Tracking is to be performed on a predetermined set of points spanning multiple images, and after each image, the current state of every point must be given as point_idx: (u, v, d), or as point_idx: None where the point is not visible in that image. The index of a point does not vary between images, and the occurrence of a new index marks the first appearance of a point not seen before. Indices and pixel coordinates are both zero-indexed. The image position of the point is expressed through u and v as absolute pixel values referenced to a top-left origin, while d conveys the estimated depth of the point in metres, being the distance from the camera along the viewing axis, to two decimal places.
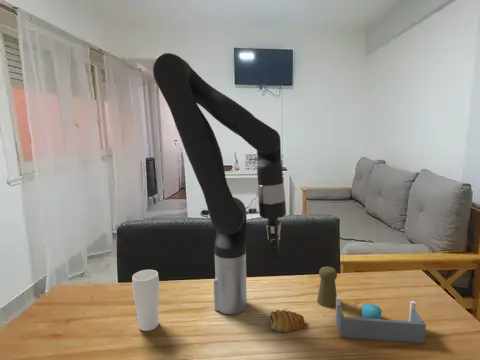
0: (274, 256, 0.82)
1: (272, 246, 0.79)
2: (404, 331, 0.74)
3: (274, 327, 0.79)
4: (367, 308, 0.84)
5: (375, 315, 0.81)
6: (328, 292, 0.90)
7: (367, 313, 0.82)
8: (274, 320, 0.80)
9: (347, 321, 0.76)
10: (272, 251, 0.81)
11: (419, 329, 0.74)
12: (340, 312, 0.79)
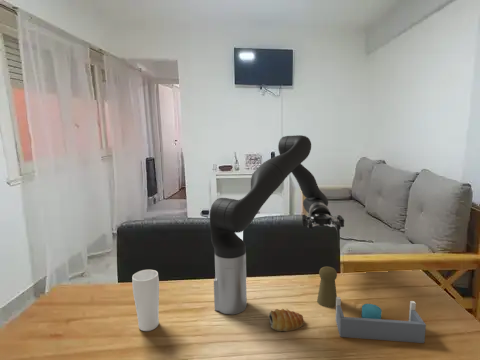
0: None
1: None
2: (404, 331, 0.74)
3: (274, 326, 0.79)
4: (367, 308, 0.84)
5: (375, 315, 0.81)
6: (328, 292, 0.90)
7: (367, 313, 0.82)
8: (273, 319, 0.80)
9: (347, 321, 0.76)
10: (339, 223, 1.02)
11: (419, 329, 0.74)
12: (340, 312, 0.79)
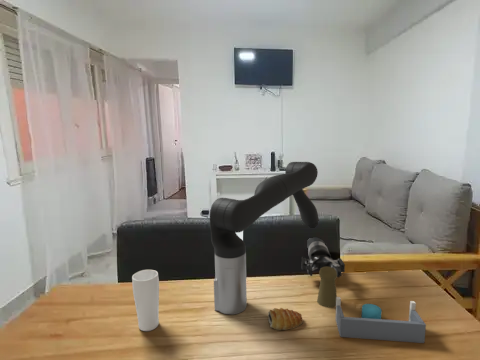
0: None
1: None
2: (404, 331, 0.74)
3: (273, 325, 0.80)
4: (367, 308, 0.84)
5: (375, 315, 0.81)
6: (328, 292, 0.90)
7: (367, 313, 0.82)
8: (273, 318, 0.80)
9: (347, 321, 0.76)
10: (340, 269, 0.99)
11: (419, 329, 0.74)
12: (340, 312, 0.79)
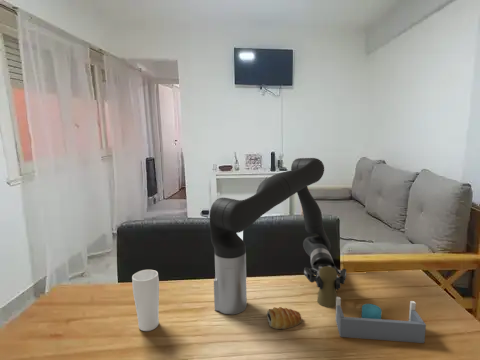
0: None
1: None
2: (404, 331, 0.74)
3: (272, 324, 0.80)
4: (367, 308, 0.84)
5: (375, 315, 0.81)
6: (328, 292, 0.90)
7: (367, 313, 0.82)
8: (272, 318, 0.81)
9: (347, 321, 0.76)
10: (339, 280, 0.91)
11: (419, 329, 0.74)
12: (340, 312, 0.79)
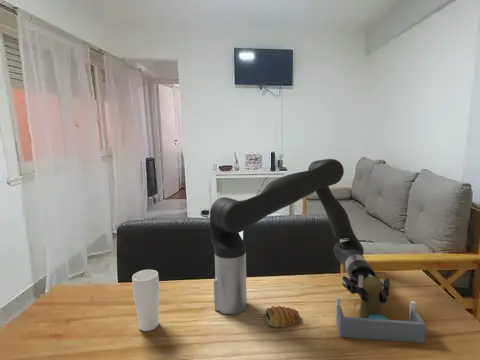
0: None
1: None
2: (404, 331, 0.74)
3: (271, 323, 0.81)
4: None
5: None
6: (373, 305, 0.81)
7: None
8: (271, 316, 0.81)
9: (347, 321, 0.76)
10: (384, 292, 0.83)
11: (419, 329, 0.74)
12: (340, 312, 0.79)
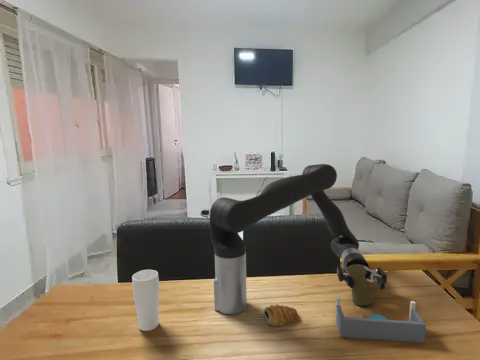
0: None
1: None
2: (404, 331, 0.74)
3: (270, 322, 0.81)
4: None
5: None
6: (361, 289, 0.89)
7: None
8: (270, 315, 0.82)
9: (347, 321, 0.76)
10: (382, 280, 0.91)
11: (419, 329, 0.74)
12: (340, 312, 0.79)
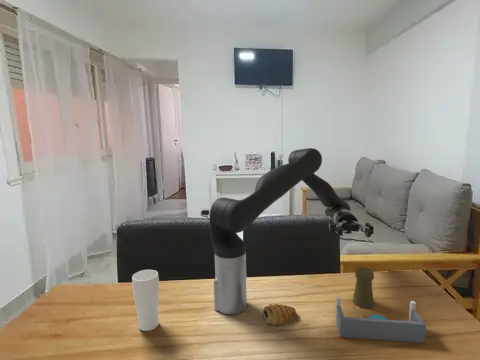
0: None
1: None
2: (404, 331, 0.74)
3: (269, 321, 0.81)
4: None
5: None
6: (365, 293, 0.89)
7: None
8: (269, 314, 0.82)
9: (347, 321, 0.76)
10: (369, 230, 1.00)
11: (419, 329, 0.74)
12: (340, 312, 0.79)
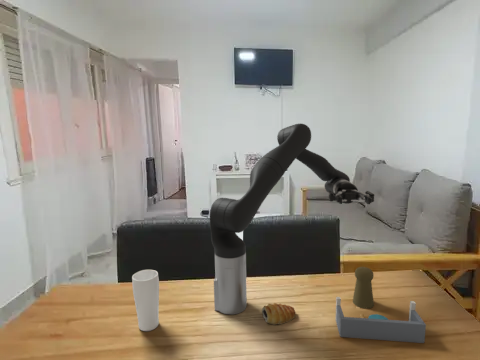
0: None
1: None
2: (404, 331, 0.74)
3: (269, 320, 0.82)
4: None
5: None
6: (365, 293, 0.89)
7: None
8: (268, 314, 0.82)
9: (347, 321, 0.76)
10: (370, 197, 0.97)
11: (419, 329, 0.74)
12: (340, 312, 0.79)
